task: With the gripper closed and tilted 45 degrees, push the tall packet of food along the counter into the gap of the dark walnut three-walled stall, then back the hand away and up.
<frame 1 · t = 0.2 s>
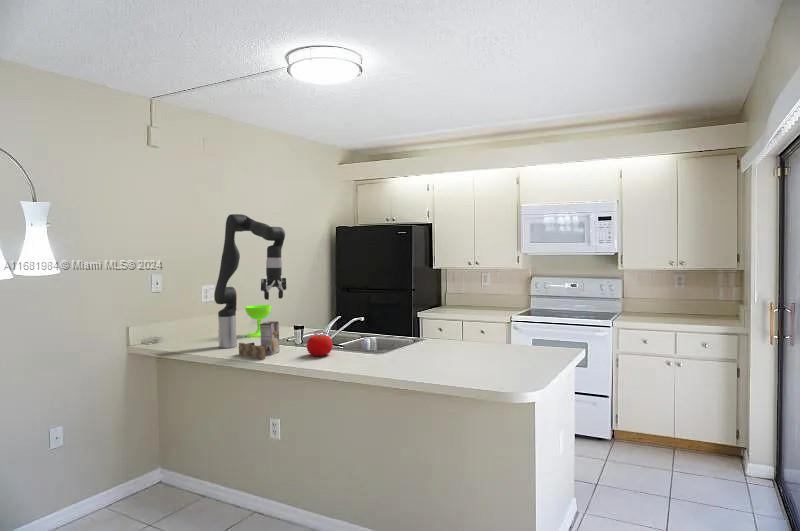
hand: (273, 299, 285), 29 cm above the worktop, tool pointing down, fingers open, 8 cm apart
tomato: (320, 355, 286), on the worktop
wineglass: (259, 335, 353), on the worktop
coffee box: (270, 353, 294), on the worktop
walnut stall: (252, 356, 286), on the worktop
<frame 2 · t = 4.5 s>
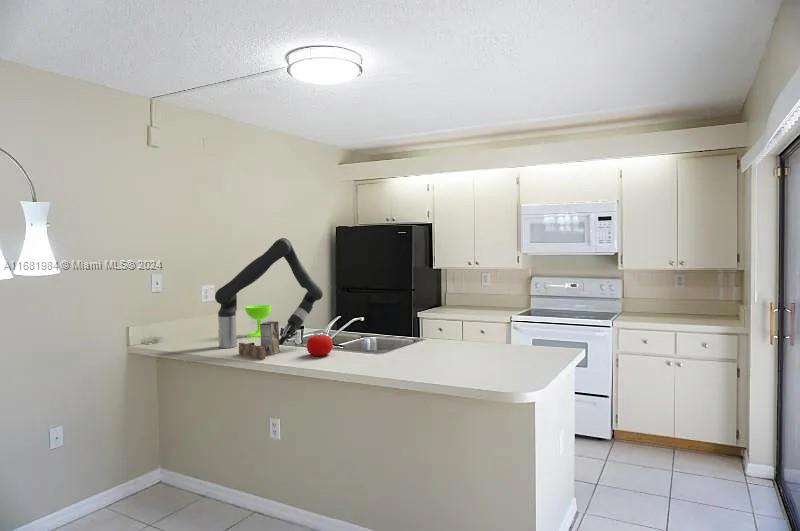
hand: (279, 343, 298), 4 cm above the worktop, tool tilted 45°, fingers closed
coffee box: (270, 353, 293), on the worktop, touching gripper
everything else where it was.
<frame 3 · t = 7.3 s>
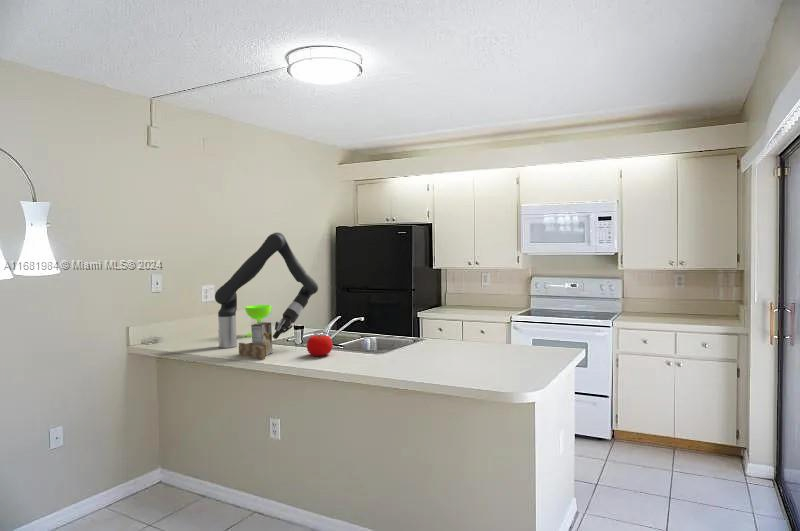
hand: (274, 337, 295), 8 cm above the worktop, tool tilted 45°, fingers closed
coffee box: (262, 355, 290), on the worktop
everything else where it was.
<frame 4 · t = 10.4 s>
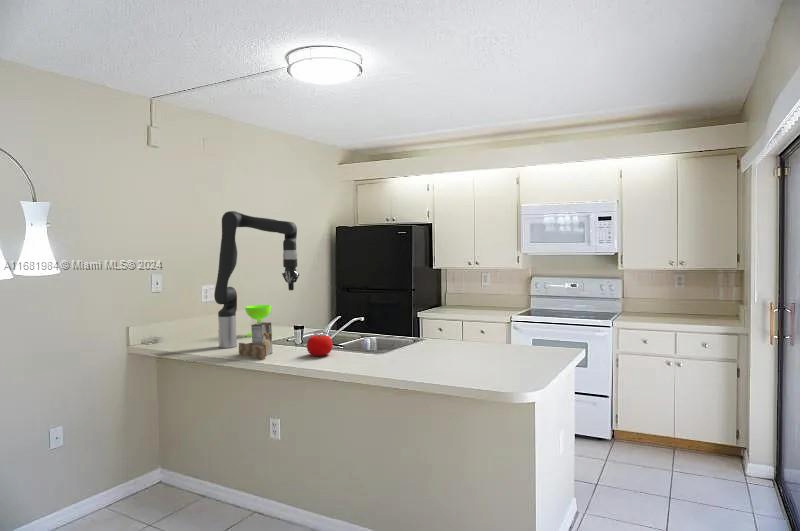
hand: (291, 290, 310), 31 cm above the worktop, tool pointing down, fingers closed
nothing on the worktop moved.
at the end: coffee box 1.3 cm from the target spot on the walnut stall, point 0.0 cm above the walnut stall's base; coffee box tilted 0°; the gripper is holding nothing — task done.
